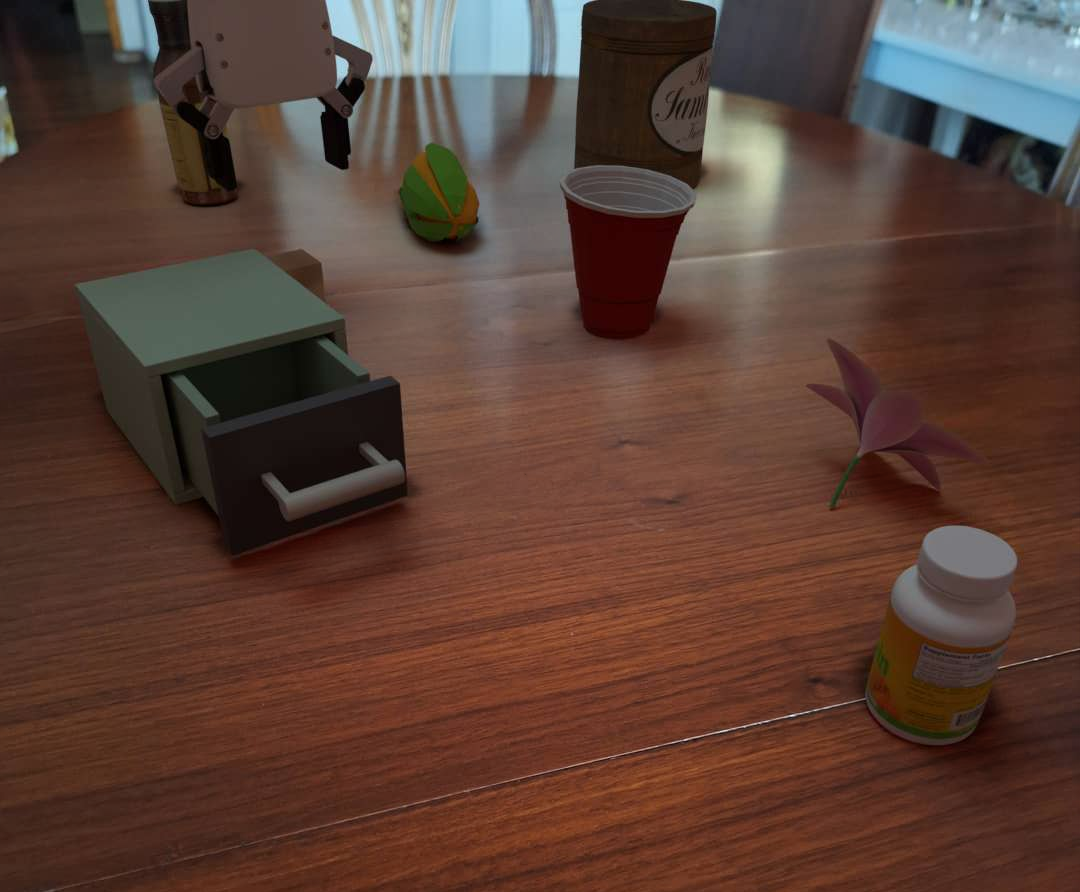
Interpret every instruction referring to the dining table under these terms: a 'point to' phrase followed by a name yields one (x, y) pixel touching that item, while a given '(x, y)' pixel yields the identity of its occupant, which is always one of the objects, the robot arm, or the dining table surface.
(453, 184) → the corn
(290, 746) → the dining table surface
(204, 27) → the robot arm
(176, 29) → the sauce bottle
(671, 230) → the plastic cup
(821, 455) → the dining table surface
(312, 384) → the drawer
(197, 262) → the cabinet
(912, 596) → the supplement bottle
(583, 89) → the wooden container
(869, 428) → the lily
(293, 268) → the block
